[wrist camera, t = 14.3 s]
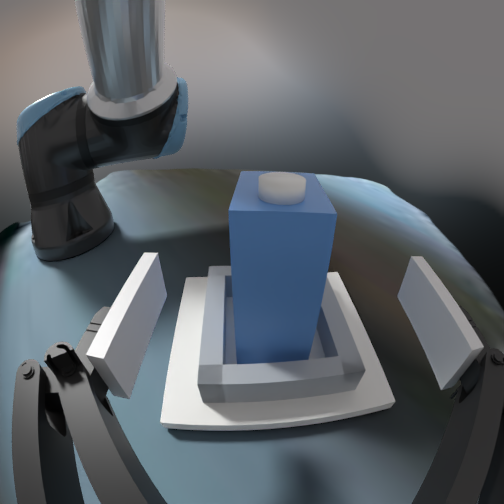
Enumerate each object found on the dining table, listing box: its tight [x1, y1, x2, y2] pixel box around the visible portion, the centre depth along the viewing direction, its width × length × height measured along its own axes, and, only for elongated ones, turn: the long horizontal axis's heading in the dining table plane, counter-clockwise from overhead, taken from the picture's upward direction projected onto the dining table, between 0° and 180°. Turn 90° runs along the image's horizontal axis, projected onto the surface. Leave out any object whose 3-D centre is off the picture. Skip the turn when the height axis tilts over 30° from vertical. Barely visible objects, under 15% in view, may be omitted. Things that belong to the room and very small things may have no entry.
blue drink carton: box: [229, 171, 337, 364], centre depth 18 cm, size 7×5×13 cm
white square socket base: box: [160, 266, 395, 431], centre depth 21 cm, size 16×16×4 cm
